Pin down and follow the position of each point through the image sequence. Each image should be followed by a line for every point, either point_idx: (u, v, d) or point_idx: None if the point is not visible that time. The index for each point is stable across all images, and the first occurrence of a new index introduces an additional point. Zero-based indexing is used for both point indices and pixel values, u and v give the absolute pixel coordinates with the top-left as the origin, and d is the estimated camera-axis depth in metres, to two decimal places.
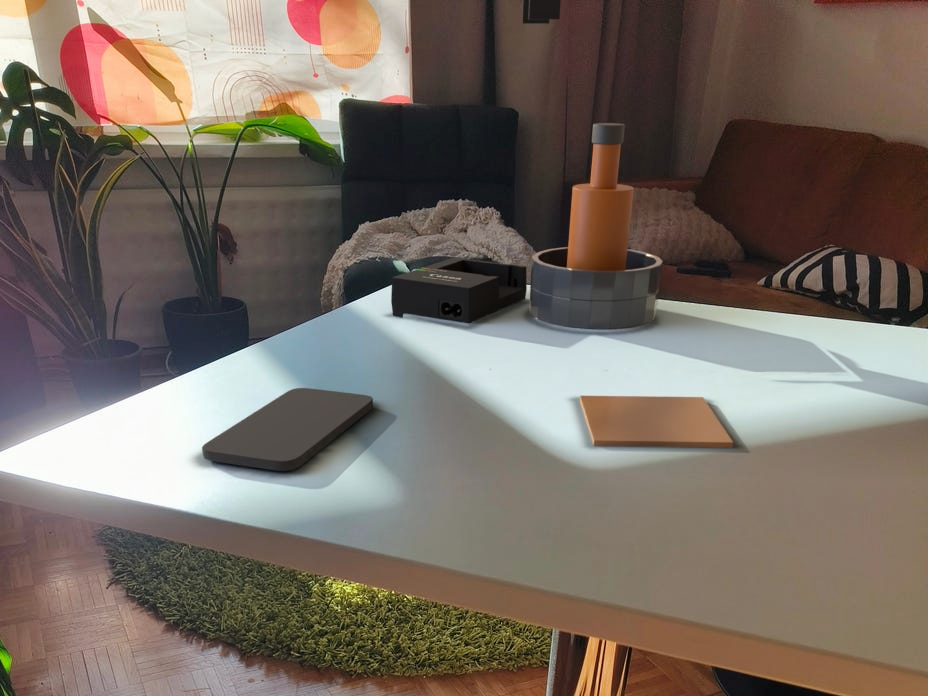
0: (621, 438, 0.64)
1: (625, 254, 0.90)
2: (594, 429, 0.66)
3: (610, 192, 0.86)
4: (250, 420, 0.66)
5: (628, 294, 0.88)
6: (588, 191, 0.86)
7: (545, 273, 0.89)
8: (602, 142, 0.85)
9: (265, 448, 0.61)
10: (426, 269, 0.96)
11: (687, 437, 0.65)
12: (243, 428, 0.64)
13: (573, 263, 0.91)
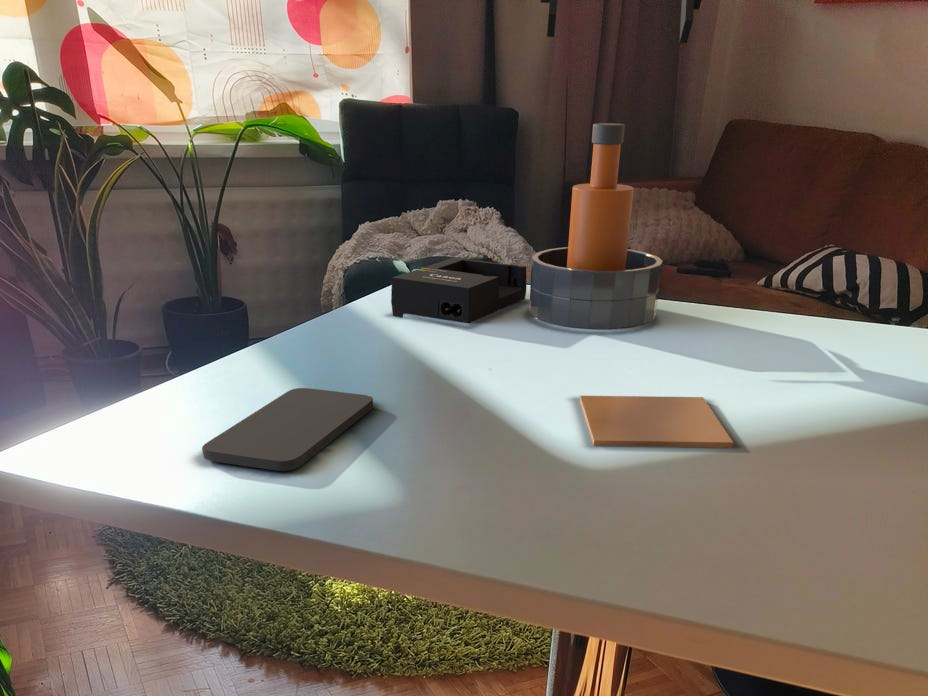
0: (621, 438, 0.64)
1: (625, 254, 0.90)
2: (594, 429, 0.66)
3: (610, 192, 0.86)
4: (250, 420, 0.66)
5: (628, 294, 0.88)
6: (588, 191, 0.86)
7: (545, 273, 0.89)
8: (602, 142, 0.85)
9: (265, 448, 0.61)
10: (426, 269, 0.96)
11: (687, 437, 0.65)
12: (243, 428, 0.64)
13: (573, 263, 0.91)
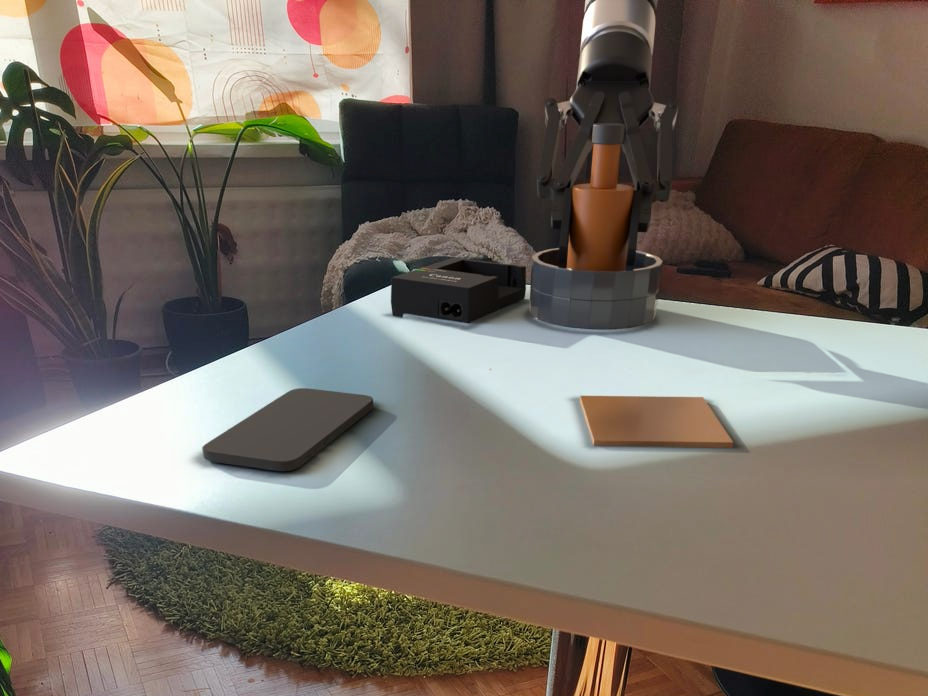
0: (621, 438, 0.64)
1: (625, 254, 0.90)
2: (594, 429, 0.66)
3: (610, 192, 0.86)
4: (250, 420, 0.66)
5: (628, 294, 0.88)
6: (588, 191, 0.86)
7: (545, 273, 0.89)
8: (602, 142, 0.85)
9: (265, 448, 0.61)
10: (425, 269, 0.96)
11: (687, 437, 0.65)
12: (244, 428, 0.64)
13: (573, 263, 0.91)
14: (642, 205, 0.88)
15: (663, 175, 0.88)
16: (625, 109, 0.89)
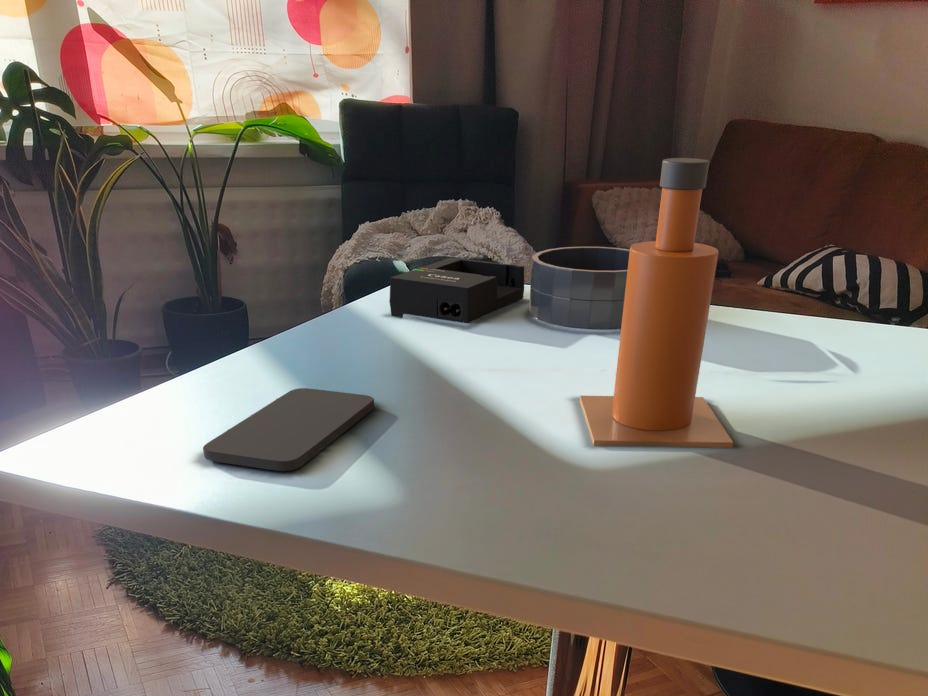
0: (621, 438, 0.64)
1: (703, 341, 0.64)
2: (594, 429, 0.66)
3: (687, 258, 0.59)
4: (251, 420, 0.66)
5: None
6: (655, 256, 0.60)
7: (545, 273, 0.89)
8: (676, 187, 0.58)
9: (266, 448, 0.61)
10: (424, 269, 0.96)
11: (687, 437, 0.65)
12: (244, 428, 0.64)
13: (628, 354, 0.64)
14: None
15: None
16: None
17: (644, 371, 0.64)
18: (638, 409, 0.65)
